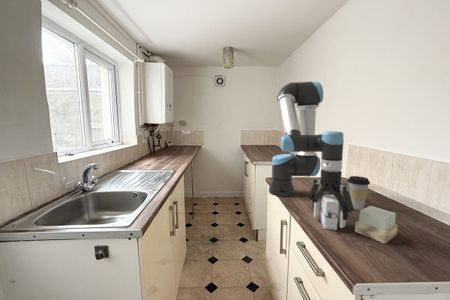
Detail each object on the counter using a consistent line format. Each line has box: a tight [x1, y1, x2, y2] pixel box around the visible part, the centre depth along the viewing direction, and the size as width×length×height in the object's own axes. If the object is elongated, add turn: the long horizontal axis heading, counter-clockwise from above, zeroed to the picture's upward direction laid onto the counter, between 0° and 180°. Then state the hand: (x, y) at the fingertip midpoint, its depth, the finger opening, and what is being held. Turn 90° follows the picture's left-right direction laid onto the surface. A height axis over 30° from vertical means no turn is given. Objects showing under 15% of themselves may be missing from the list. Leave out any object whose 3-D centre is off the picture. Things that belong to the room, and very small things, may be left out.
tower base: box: [354, 219, 398, 244], centre depth 81 cm, size 10×10×4 cm
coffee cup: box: [347, 175, 371, 211], centre depth 105 cm, size 9×9×15 cm
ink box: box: [319, 194, 340, 231], centre depth 88 cm, size 9×5×12 cm, turn 168°
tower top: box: [358, 205, 397, 231], centre depth 81 cm, size 8×8×4 cm
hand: (328, 221), depth 89 cm, fingers open, 11 cm apart
